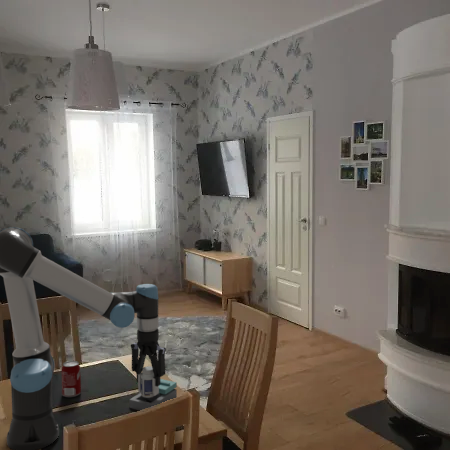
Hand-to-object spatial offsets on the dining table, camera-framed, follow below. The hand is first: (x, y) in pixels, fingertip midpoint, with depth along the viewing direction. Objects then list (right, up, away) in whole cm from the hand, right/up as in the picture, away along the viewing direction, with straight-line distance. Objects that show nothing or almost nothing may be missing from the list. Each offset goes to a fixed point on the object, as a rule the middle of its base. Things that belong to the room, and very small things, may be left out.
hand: (148, 392), depth 181 cm
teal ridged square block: (+4, -1, +7) cm, 8 cm away
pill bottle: (0, -1, 0) cm, 1 cm away
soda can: (-30, -4, +10) cm, 32 cm away
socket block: (+1, -5, +3) cm, 6 cm away
